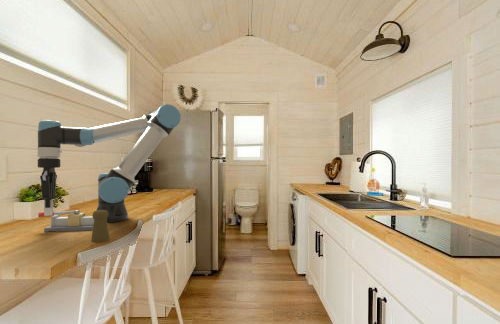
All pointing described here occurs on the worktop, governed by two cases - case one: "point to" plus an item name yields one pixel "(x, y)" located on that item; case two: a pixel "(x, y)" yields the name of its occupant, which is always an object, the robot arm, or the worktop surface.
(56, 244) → the worktop surface
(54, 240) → the worktop surface
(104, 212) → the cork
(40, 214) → the lever
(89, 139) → the robot arm
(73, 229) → the valve board
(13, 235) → the worktop surface
